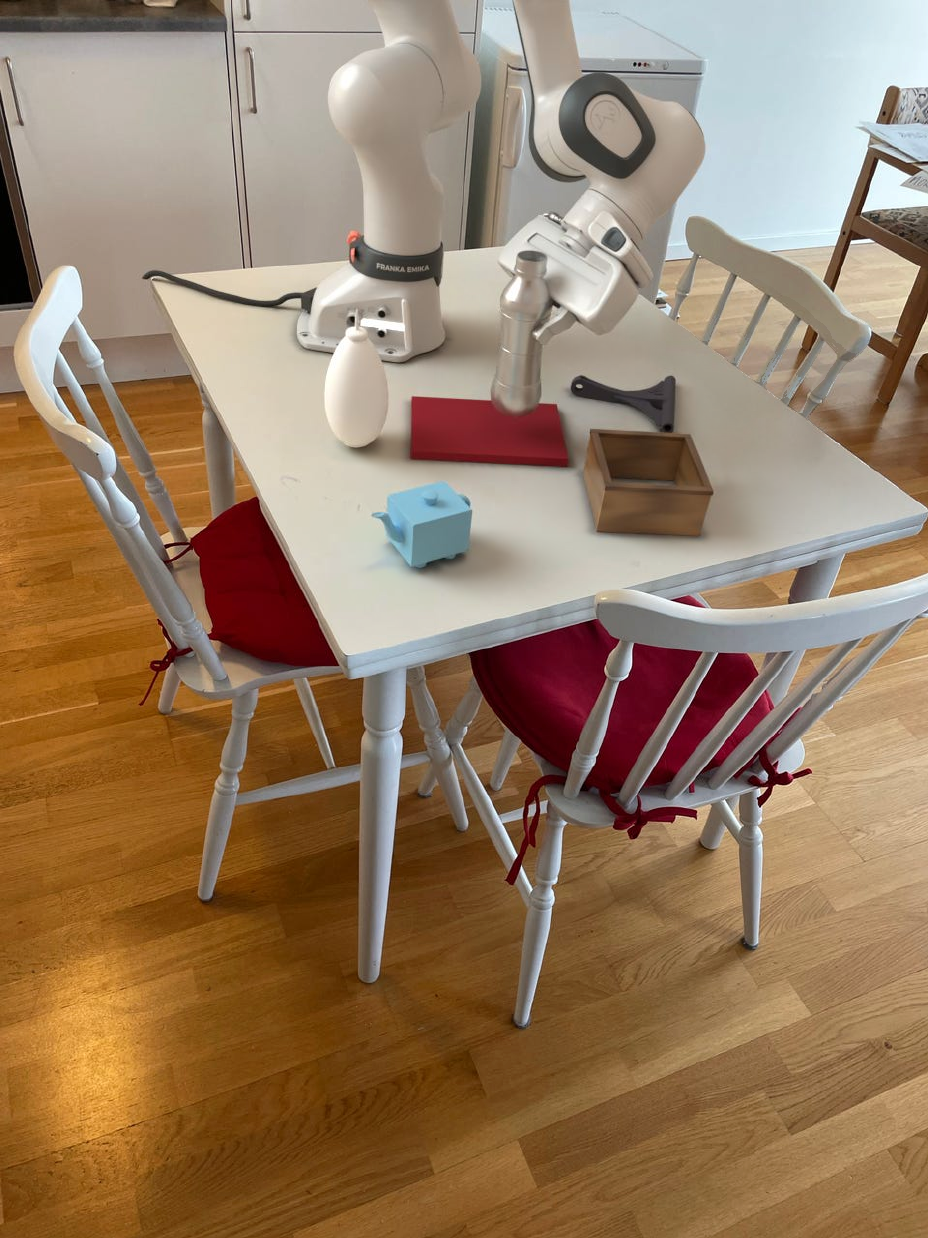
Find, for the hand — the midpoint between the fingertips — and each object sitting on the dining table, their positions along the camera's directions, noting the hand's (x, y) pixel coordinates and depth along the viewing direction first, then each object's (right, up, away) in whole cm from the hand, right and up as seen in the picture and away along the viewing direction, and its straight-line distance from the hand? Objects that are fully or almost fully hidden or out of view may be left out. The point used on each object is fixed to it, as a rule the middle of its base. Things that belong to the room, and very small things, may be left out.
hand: (520, 328), depth 116 cm
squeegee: (+16, -4, +21) cm, 27 cm away
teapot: (-12, -28, -9) cm, 32 cm away
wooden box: (+15, -21, +2) cm, 26 cm away
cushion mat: (-4, -11, +11) cm, 16 cm away
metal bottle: (0, -8, +8) cm, 12 cm away
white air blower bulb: (-21, -13, +7) cm, 25 cm away
